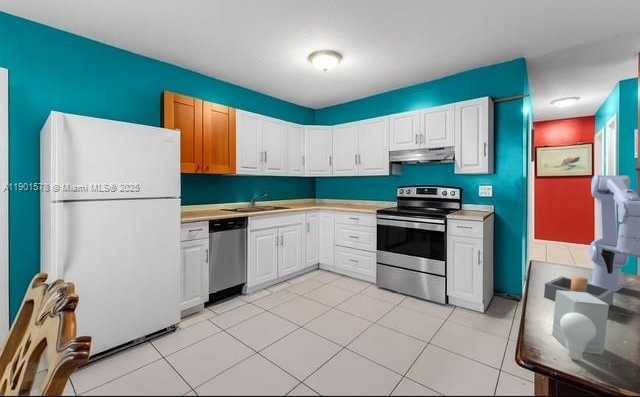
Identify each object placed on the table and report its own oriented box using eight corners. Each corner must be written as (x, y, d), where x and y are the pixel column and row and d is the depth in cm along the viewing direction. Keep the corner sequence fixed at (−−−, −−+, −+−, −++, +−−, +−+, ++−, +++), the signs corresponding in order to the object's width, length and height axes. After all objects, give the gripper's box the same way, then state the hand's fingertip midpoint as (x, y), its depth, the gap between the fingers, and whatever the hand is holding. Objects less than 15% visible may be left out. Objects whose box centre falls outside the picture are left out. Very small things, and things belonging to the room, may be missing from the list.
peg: (571, 297, 99) (574, 275, 99) (587, 301, 96) (589, 279, 95) (567, 299, 97) (570, 277, 96) (582, 304, 94) (585, 281, 93)
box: (560, 289, 106) (561, 276, 106) (612, 304, 94) (614, 290, 94) (543, 297, 99) (545, 283, 98) (597, 314, 87) (599, 299, 86)
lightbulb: (584, 371, 61) (590, 323, 60) (551, 355, 67) (556, 310, 66) (597, 363, 64) (602, 317, 63) (564, 348, 70) (568, 305, 69)
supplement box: (604, 355, 67) (610, 305, 66) (568, 351, 69) (574, 301, 67) (582, 338, 74) (587, 292, 73) (550, 334, 76) (555, 289, 75)
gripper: (596, 233, 97) (592, 271, 98) (662, 243, 85) (656, 286, 86) (603, 231, 101) (599, 268, 102) (667, 240, 88) (661, 282, 90)
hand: (625, 276), depth 94 cm, fingers open, 7 cm apart
